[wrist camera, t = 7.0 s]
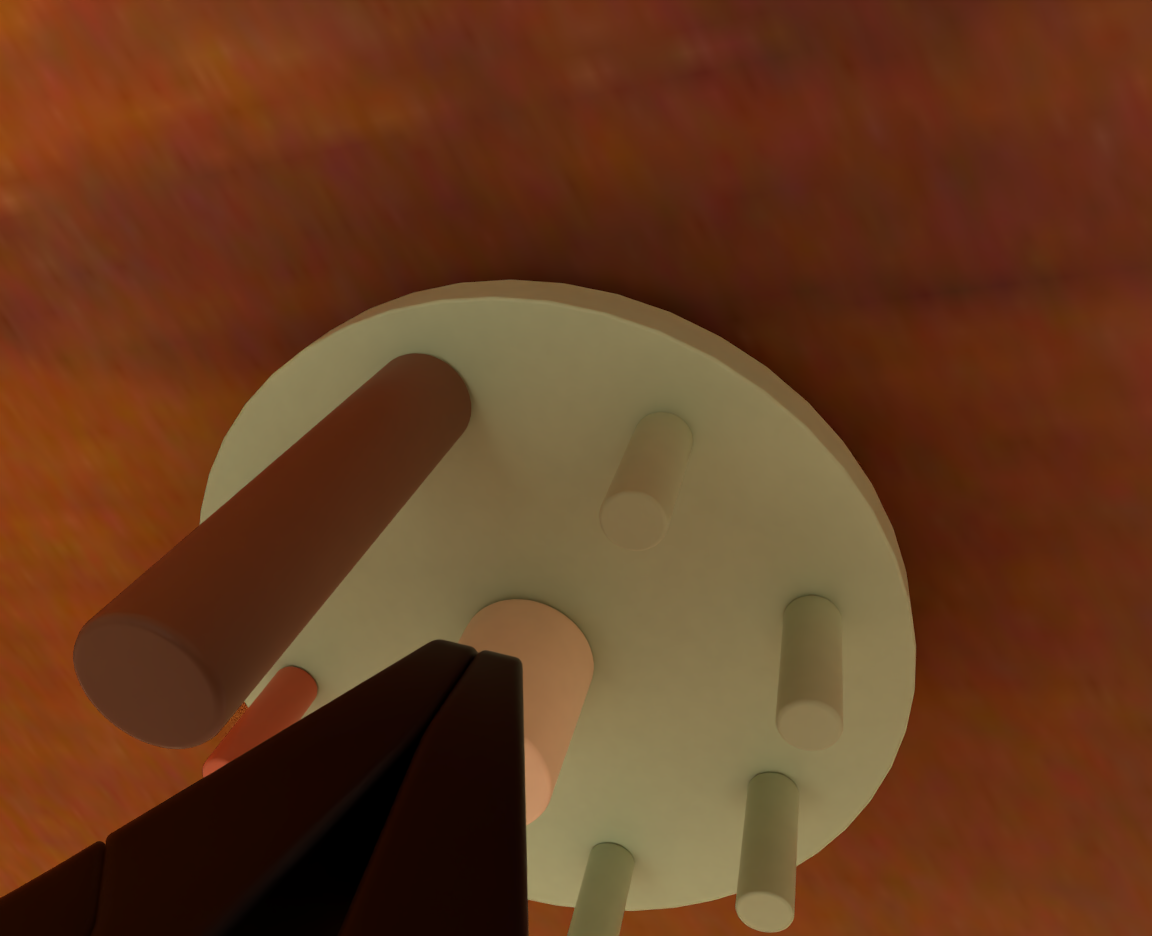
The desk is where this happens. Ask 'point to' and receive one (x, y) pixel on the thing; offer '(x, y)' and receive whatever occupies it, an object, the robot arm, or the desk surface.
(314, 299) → the desk surface
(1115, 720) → the desk surface
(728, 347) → the pegged crank wheel
